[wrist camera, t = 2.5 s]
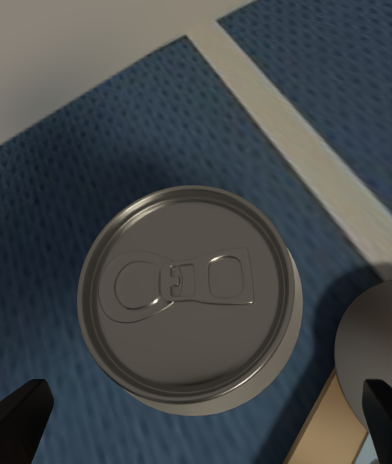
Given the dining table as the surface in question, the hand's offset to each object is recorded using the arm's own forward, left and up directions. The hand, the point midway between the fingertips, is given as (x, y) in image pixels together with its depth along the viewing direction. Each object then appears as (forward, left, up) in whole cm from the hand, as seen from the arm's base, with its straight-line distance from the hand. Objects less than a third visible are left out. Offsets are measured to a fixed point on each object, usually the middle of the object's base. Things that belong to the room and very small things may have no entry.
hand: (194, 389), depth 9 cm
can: (+2, +2, -10) cm, 10 cm away
